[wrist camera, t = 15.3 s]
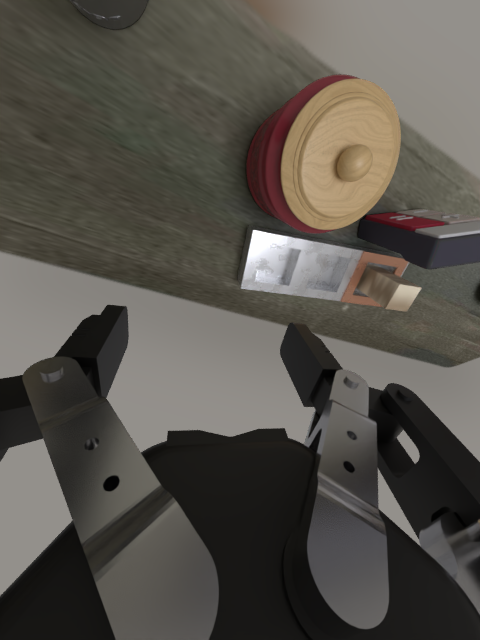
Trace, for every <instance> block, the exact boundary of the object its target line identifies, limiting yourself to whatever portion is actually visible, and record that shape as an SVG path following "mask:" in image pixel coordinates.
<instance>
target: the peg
mask: <svg viewBox="0 0 480 640" xmlns="http://www.w3.org/2000/svg"><path fill="white" fill-rule="evenodd" d="M356 288H357V289H358V290H360V291H361V292H363V293H364V294H365V295H367V296H368V297H370V298H371V299H373V300H374V301H375V302H377V303H378V304H380V305H381V306H382V307H384V308H385V309H392V310H399V311H407V310H408V309H409V307H410V305H411V304H412V302H413V301H414V299H415V298H416V296H417V295H418V293H419V291H420V290H421V287H419V286H417V285H415V284H413V283H411V282H409V281H407V280H405V279H403V278H401V277H399V276H397V275H395V274H393V273H391V272H389V271H387V270H385V269H383V268H381V267H379V266H377V265H371V264H367V266H366V268H365V270H364V272H363V274H362V276H361V278H360V280H359V282H358V284H357V286H356Z"/></svg>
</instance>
